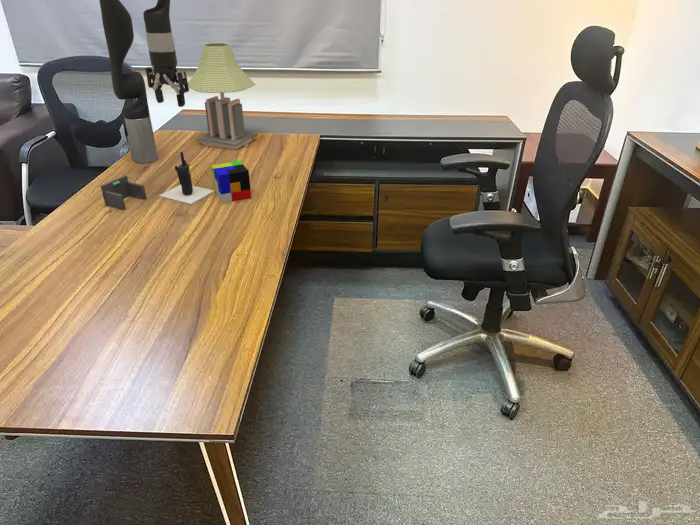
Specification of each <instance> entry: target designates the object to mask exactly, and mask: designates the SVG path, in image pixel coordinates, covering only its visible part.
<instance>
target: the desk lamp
mask: <svg viewBox="0 0 700 525" xmlns="http://www.w3.org/2000/svg"><path fill="white" fill-rule="evenodd" d="M200 56H201V57H200V60H199V64H198V66H197V69H196V71H195V72H194V73H193V74H192V75H193V76H191V78H190V79H189V81H187V82H188V87H189V89H191V90H192V91H195V92H198V93H209V94H210V93H212V94H220V99H219V96H218V95H215V96H213V97H210V98H206V99H205V102H204V109H205V114H206V115H205V116H206V123H207V130H208V131H207V133H205V134H202V135H201V136H198V137H196V140H197V141H201V143H202V144H201V145H204V146H209V147H215V148H221V149H225V150H233V151H235V150H237V149H239V148H241V147H243V146H245V145H247V144H249V143H251V142H252V141H253V137H256V136H258V135H257V133H255V132H247V131H245V122H244V112H243V104H242V103H241V100H240V98H236V99H233V100H231V97H225V93H237V92H241V91H242V92H243V91H244V90H248V89H250V88H252V87H255V86H256V83H255V82H254V81H253V80H252V79H251V78H250V77H249V76H248V75H247V74H246V72H244V71H243V69H242V68H241V66H240V65H239V63H238V61H237V59H236V58H235V55H234V52H233V50H232V48H231V46H230V44H229V43H224V42H211V43H209V42H207V43H205V44H203V45H202V51H201V55H200Z"/></svg>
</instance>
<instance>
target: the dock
mask: <svg viewBox="0 0 700 525" xmlns="http://www.w3.org/2000/svg"><path fill="white" fill-rule="evenodd" d="M99 186H100V188H101V193H102V196H103V200H104V205H105V206H106V207H111V208H113V209H118V210H121V211H126V210H127V206H126V204H125V199H126V198H128V197H131V198H136V199H138V200H143V201H146V200H148V197H147V194H146V188H145V185H144V184H141V183H136V182H134V181H129V177H128V175H122V176H119V177H118V178H115V179H112V180H110V181H108V182H105V183H103V184H100V185H99Z"/></svg>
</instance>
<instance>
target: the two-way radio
mask: <svg viewBox="0 0 700 525" xmlns="http://www.w3.org/2000/svg"><path fill="white" fill-rule="evenodd" d="M180 160H181V161H180V162H181V164H179V165H175V166H174V170H175V171H176V173H177V178H178V182H179V185H181V187H182V192H183V194H184V195H191V194H192V191H193V187H192V186H193V183H192V182H193V181H192V175H191V172H190V165H189V163H187V161H186V159H185V157H184V153H183V151H180Z"/></svg>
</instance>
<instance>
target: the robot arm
mask: <svg viewBox="0 0 700 525" xmlns="http://www.w3.org/2000/svg"><path fill="white" fill-rule="evenodd" d="M99 6H100V12H101V20H102V27H103V30H104V31H103V32H104V36H105V42H106V46H107V51H108V57H109V66H110V74H111V83H112V89H113V92H114V95H115V97H116V98H117V99H118V100H124V101H125V100H133V99H135V101H134V102H133V103H132V104H130V105H128V106H127V107H125V108H124V109H123V112H122V113H123V117H124V123H125V128H126V132H127V136H126V137H127V138H126V139H127V143H128V148H129V152H130V156H131V160H133V161H134V163H138V164H149V163H153V162H156V161H157V160H158V159H159V155H158V151H157V150H158V149H157V144H156V140H155V139H156V138H155V134H154V129H153V124H152V119H151V113H150V108H149V103H148V94H147V88H146V82H145V79H144V76H143V75H142V73H141V72H139V71H126V72H123V66H124V62H125V58H126V57H127V54H128V53H129V51H130V49H131V47H132V45H133V42H134V39H135V34H134V26H133V20H132V16H131V14H130V12H129V11H128V10H127V8H126V7H125V5H124V4H123V3H122V2H121V1H120V0H99ZM170 6H171V0H157V3H156V5H155V6H153V7H152V8H149V9H146V10H144V11H143V13H142V16H143V22H144V26H145V33H146V43H147V48H148V53H149V54H148V55H149V59H150V64H151V66H149V67H145V74H146V81H147V86H148V88H149V89H150V88H151V89H152V90H153V92H154V96H155V100H156V102H157V103H158V104H161V103H164V102H165V98H164V93H163V90H162V87H163V85H166V86H170V87H171V89H173V90H174V92H175V93H176V101H177V106H178V107H179V108H182V107H185V105H186V98H185V93H187V92H189V91H190V88H189V87H188V82H189V81H188V78H187V73H186V71H185V70H183V71H178V69H177V66H178V58H177V51H176V46H175V40H174V36H173V32H172V26H171V19H170V18H171V17H170V10H171V7H170Z"/></svg>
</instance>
